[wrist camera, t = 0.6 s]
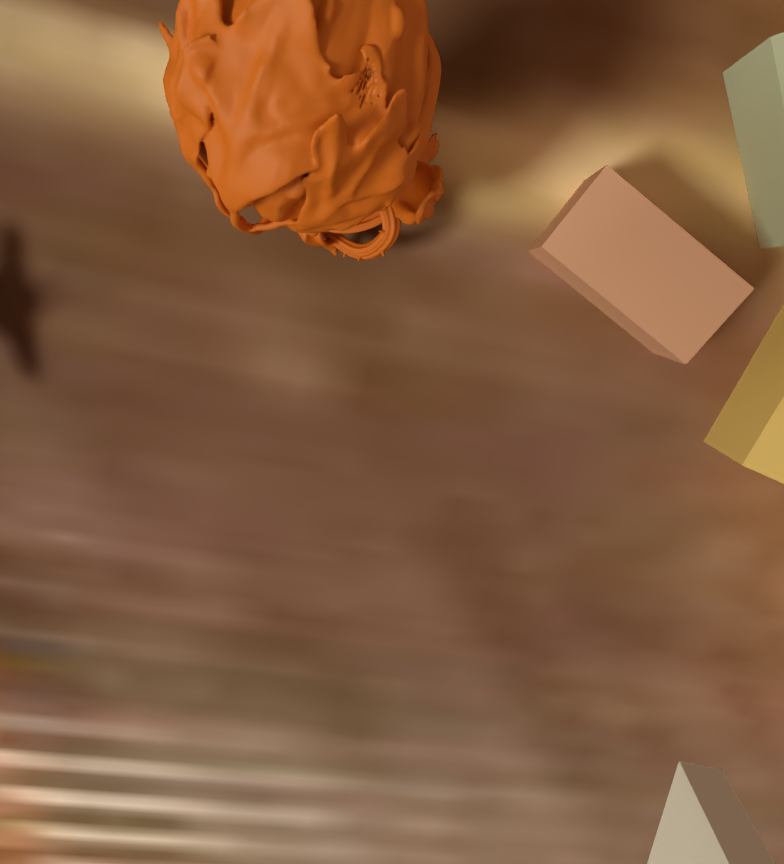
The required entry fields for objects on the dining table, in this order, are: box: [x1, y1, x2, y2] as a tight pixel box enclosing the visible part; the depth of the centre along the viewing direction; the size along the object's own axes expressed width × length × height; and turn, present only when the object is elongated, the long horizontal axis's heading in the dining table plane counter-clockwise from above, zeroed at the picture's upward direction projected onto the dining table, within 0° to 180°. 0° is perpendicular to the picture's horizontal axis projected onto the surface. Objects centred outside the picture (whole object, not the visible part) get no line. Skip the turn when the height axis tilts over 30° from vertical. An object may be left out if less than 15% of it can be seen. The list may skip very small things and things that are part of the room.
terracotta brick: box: [528, 165, 754, 364], centre depth 33 cm, size 9×4×5 cm, turn 52°
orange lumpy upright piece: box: [159, 0, 444, 261], centre depth 26 cm, size 11×11×18 cm
